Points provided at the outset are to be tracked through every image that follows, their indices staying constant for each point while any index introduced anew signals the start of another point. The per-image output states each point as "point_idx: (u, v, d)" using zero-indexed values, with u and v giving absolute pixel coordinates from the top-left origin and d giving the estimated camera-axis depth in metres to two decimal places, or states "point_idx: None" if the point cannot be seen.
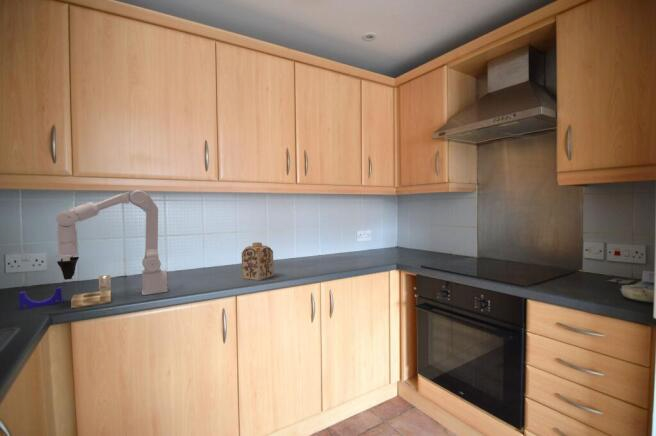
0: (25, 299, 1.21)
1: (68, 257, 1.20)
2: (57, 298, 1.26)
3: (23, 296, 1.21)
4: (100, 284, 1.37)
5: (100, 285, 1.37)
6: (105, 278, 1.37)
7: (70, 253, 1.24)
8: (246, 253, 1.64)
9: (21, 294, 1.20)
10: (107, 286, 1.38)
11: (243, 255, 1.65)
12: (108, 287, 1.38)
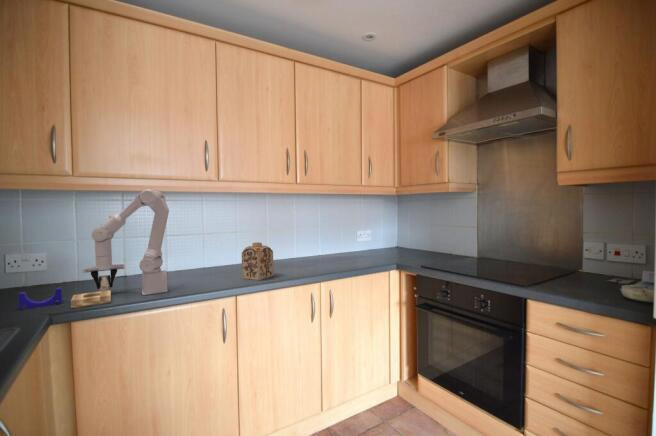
0: (25, 300, 1.20)
1: None
2: (57, 298, 1.26)
3: (23, 297, 1.20)
4: (100, 284, 1.37)
5: (100, 285, 1.37)
6: (105, 278, 1.37)
7: (96, 266, 1.36)
8: (246, 253, 1.64)
9: (21, 295, 1.20)
10: (107, 286, 1.38)
11: (243, 255, 1.65)
12: (108, 287, 1.38)
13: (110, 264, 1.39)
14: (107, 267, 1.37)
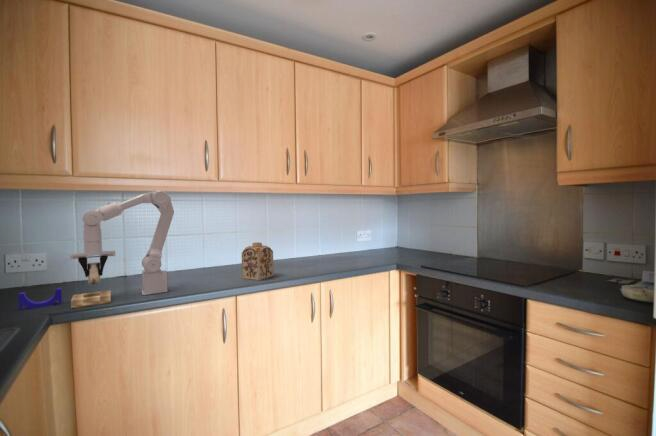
0: (25, 300, 1.20)
1: None
2: (57, 299, 1.25)
3: (23, 297, 1.20)
4: (88, 272, 1.28)
5: (88, 273, 1.28)
6: (94, 265, 1.28)
7: (84, 252, 1.27)
8: (246, 253, 1.64)
9: (21, 295, 1.19)
10: (96, 274, 1.29)
11: (243, 255, 1.65)
12: (97, 275, 1.29)
13: (100, 250, 1.29)
14: (96, 253, 1.27)
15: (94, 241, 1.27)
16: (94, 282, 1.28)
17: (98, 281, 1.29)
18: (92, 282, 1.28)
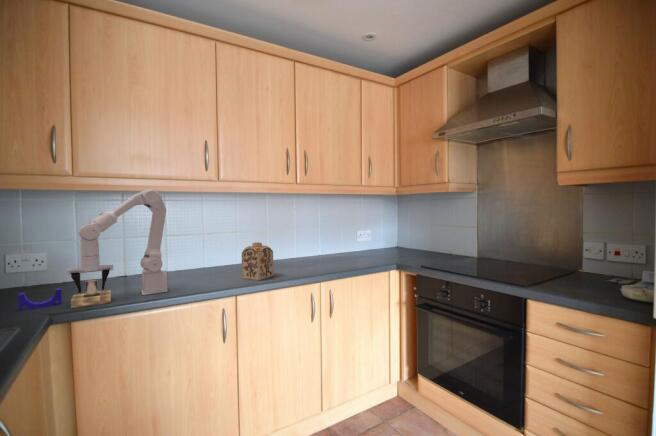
0: (24, 300, 1.19)
1: None
2: (57, 299, 1.25)
3: (22, 297, 1.19)
4: (86, 290, 1.25)
5: (86, 291, 1.25)
6: (92, 283, 1.25)
7: (81, 267, 1.24)
8: (246, 253, 1.64)
9: (20, 295, 1.19)
10: (94, 292, 1.26)
11: (243, 255, 1.65)
12: (95, 293, 1.26)
13: (97, 265, 1.26)
14: (94, 268, 1.25)
15: (92, 256, 1.24)
16: None
17: None
18: None
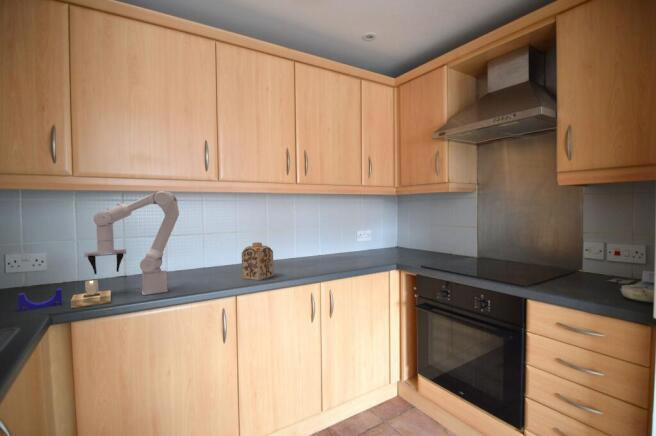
0: (24, 301, 1.19)
1: (84, 254, 1.33)
2: (57, 300, 1.24)
3: (22, 298, 1.18)
4: (86, 290, 1.25)
5: (86, 291, 1.25)
6: (92, 283, 1.25)
7: (97, 251, 1.35)
8: (246, 253, 1.64)
9: (20, 296, 1.18)
10: (94, 292, 1.26)
11: (243, 255, 1.65)
12: (95, 293, 1.26)
13: (112, 249, 1.38)
14: (109, 252, 1.36)
15: (107, 240, 1.36)
16: None
17: None
18: None
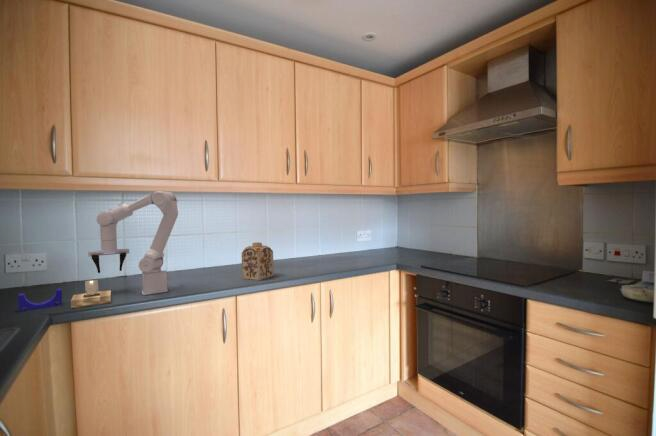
0: (24, 301, 1.18)
1: (88, 253, 1.36)
2: (57, 300, 1.24)
3: (22, 298, 1.18)
4: (86, 290, 1.25)
5: (86, 291, 1.25)
6: (92, 283, 1.25)
7: (101, 250, 1.38)
8: (246, 253, 1.64)
9: (20, 296, 1.17)
10: (94, 292, 1.26)
11: (243, 255, 1.65)
12: (95, 293, 1.26)
13: (115, 248, 1.40)
14: (112, 251, 1.39)
15: (110, 240, 1.38)
16: None
17: None
18: None
